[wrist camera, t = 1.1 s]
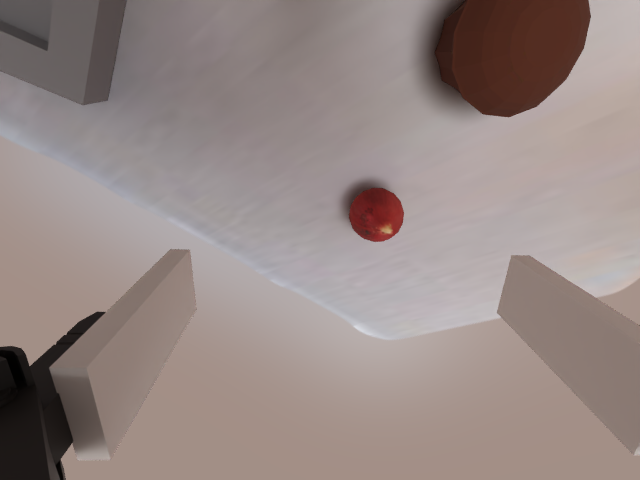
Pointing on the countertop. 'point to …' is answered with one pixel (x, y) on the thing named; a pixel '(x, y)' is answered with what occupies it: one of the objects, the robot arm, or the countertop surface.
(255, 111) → the countertop surface
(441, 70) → the muffin
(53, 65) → the frame
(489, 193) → the countertop surface
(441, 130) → the countertop surface
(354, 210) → the red rounded lump
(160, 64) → the countertop surface
